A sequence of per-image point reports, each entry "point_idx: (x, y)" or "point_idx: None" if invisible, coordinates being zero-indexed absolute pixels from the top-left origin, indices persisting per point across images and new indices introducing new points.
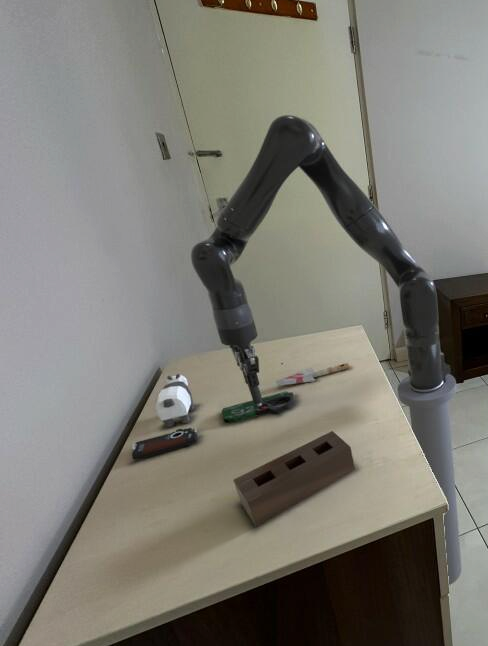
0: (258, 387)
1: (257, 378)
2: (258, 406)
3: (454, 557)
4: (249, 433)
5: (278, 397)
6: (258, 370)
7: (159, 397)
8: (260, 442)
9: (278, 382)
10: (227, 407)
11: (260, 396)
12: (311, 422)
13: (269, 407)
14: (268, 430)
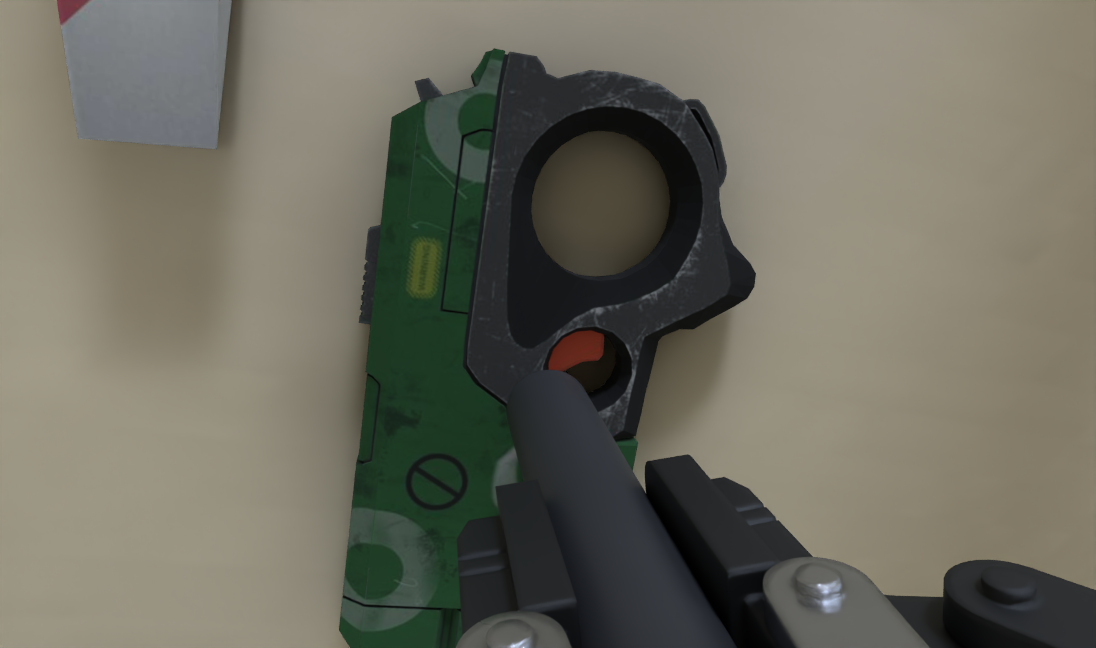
0: (597, 441)
1: (727, 506)
2: None
3: None
4: (826, 498)
5: (505, 207)
6: (1088, 601)
7: None
8: (996, 452)
9: (131, 117)
10: (367, 629)
11: (588, 403)
12: (1058, 73)
13: (646, 324)
14: (896, 381)
